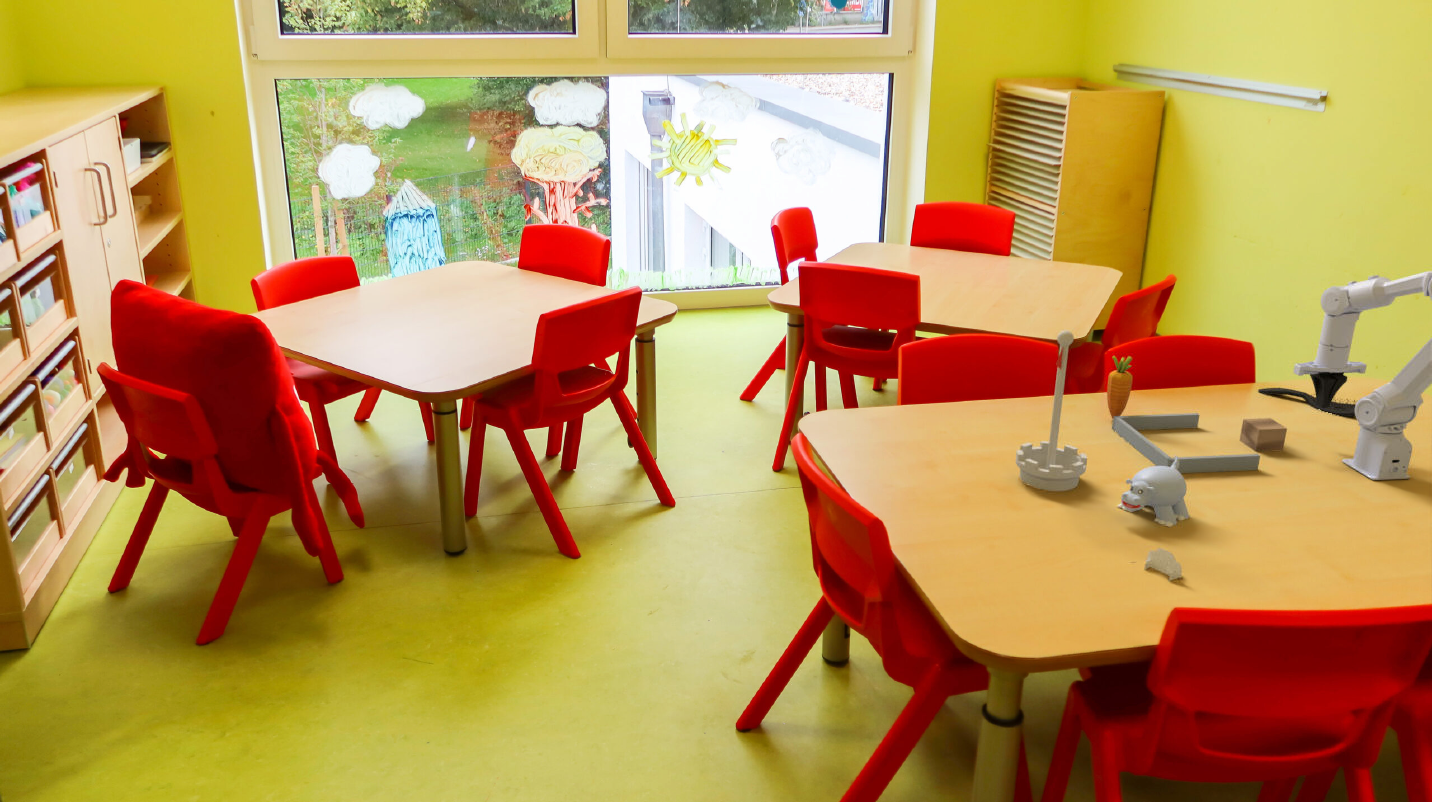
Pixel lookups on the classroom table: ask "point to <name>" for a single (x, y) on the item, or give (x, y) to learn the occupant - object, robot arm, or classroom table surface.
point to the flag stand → (1053, 443)
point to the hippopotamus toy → (1158, 493)
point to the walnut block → (1263, 434)
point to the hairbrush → (1333, 408)
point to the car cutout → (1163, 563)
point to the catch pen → (1127, 430)
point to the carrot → (1119, 387)
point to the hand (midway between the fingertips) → (1322, 406)
